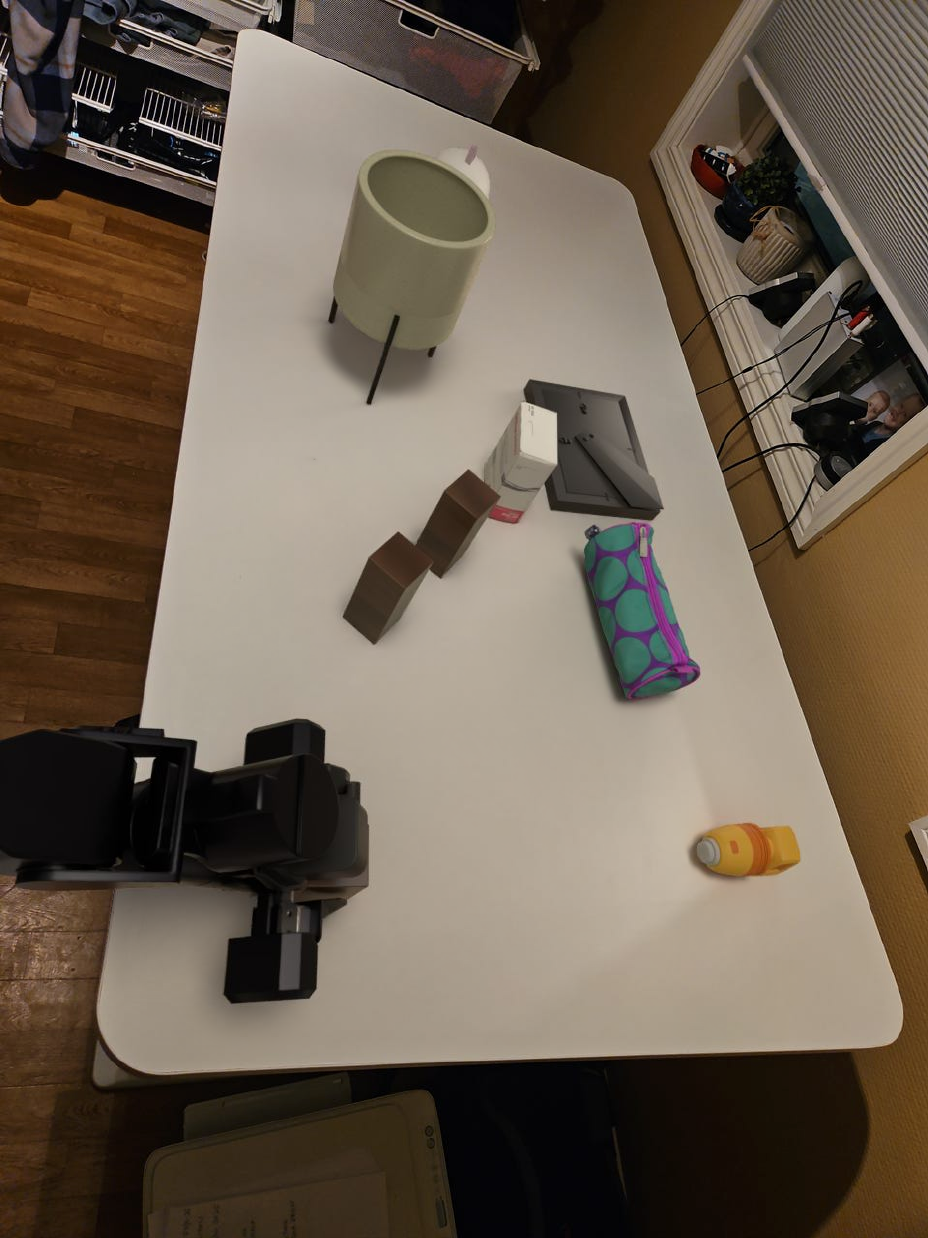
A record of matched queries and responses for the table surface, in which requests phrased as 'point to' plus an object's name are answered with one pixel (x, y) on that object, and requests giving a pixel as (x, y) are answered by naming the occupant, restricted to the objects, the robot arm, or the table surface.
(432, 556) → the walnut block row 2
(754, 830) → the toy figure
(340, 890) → the walnut block loose
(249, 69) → the table surface
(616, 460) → the picture frame
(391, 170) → the planter
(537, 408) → the ink box
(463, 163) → the ornament
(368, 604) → the walnut block
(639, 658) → the pencil case
